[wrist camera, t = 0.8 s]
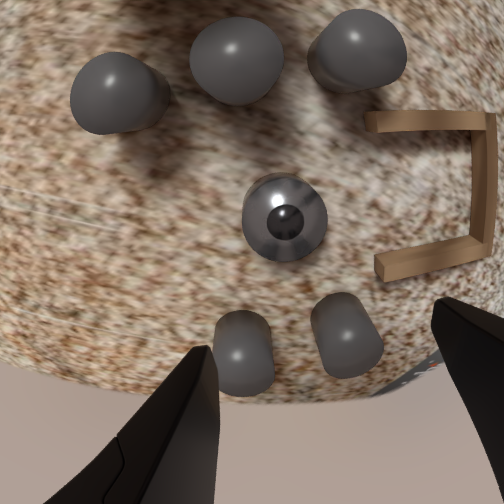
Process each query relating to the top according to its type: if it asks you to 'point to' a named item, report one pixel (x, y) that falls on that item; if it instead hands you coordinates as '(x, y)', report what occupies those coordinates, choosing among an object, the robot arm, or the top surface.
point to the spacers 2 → (326, 334)
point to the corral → (482, 191)
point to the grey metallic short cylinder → (283, 217)
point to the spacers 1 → (237, 69)
